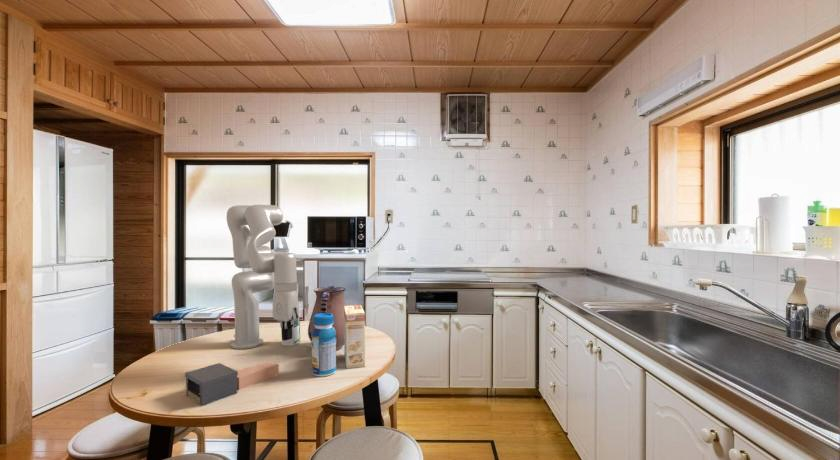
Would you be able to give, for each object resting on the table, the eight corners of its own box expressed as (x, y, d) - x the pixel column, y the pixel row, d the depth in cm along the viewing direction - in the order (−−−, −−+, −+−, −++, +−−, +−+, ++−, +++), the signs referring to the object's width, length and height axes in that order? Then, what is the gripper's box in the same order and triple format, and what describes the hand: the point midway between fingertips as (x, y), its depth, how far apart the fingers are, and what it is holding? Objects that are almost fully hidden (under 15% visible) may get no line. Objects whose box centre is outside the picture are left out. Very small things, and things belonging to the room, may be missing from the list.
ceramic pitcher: (350, 340, 165) (350, 284, 165) (352, 356, 145) (351, 292, 145) (309, 343, 162) (309, 285, 161) (305, 360, 141) (304, 294, 141)
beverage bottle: (330, 378, 124) (329, 318, 124) (307, 376, 125) (306, 317, 125) (340, 368, 132) (339, 312, 132) (318, 367, 134) (317, 311, 134)
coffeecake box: (365, 367, 133) (365, 312, 133) (345, 369, 132) (345, 314, 132) (362, 353, 148) (361, 304, 148) (344, 354, 146) (343, 305, 146)
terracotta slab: (229, 386, 119) (228, 373, 119) (268, 371, 131) (268, 360, 131) (239, 390, 116) (239, 377, 116) (278, 375, 128) (278, 363, 127)
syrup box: (293, 346, 158) (293, 312, 158) (281, 345, 159) (280, 311, 159) (300, 342, 164) (300, 309, 163) (288, 341, 165) (287, 308, 165)
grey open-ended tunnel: (185, 395, 112) (185, 372, 112) (219, 383, 120) (219, 362, 120) (202, 406, 105) (202, 382, 105) (238, 393, 113) (237, 371, 113)
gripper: (264, 287, 134) (265, 338, 134) (288, 290, 125) (290, 345, 125) (283, 285, 140) (284, 333, 140) (307, 287, 131) (308, 339, 131)
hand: (287, 339), depth 132 cm, fingers closed
